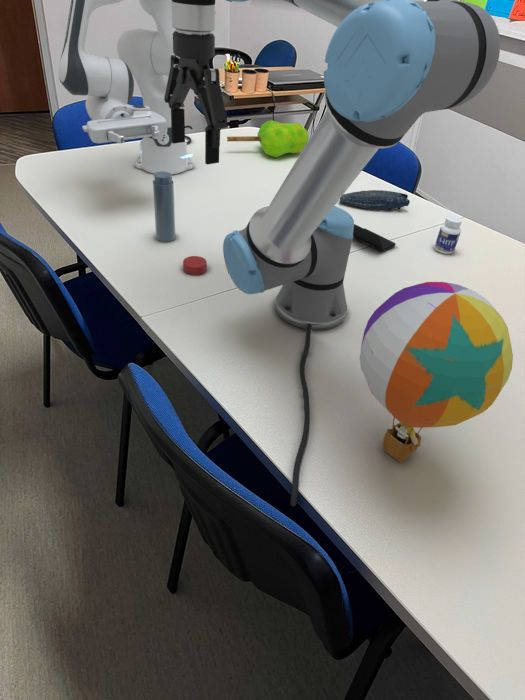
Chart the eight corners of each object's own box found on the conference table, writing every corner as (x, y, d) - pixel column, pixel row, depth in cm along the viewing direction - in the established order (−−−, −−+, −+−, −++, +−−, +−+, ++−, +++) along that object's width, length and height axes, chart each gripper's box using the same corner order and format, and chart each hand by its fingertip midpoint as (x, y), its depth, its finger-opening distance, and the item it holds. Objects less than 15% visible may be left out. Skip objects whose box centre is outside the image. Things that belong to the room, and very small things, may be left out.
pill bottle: (433, 251, 139) (442, 220, 133) (435, 243, 143) (444, 213, 137) (453, 256, 138) (464, 225, 132) (454, 247, 142) (465, 217, 136)
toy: (311, 442, 83) (343, 281, 64) (387, 392, 94) (434, 241, 75) (410, 529, 72) (484, 365, 53) (484, 461, 83) (567, 304, 64)
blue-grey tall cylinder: (167, 231, 137) (164, 169, 127) (179, 238, 134) (177, 175, 124) (152, 236, 134) (148, 173, 124) (164, 243, 131) (161, 179, 121)
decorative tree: (224, 117, 189) (303, 117, 195) (224, 146, 196) (301, 145, 201) (231, 131, 176) (316, 130, 181) (230, 162, 182) (313, 160, 188)
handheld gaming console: (399, 237, 140) (392, 215, 132) (388, 260, 139) (379, 239, 130) (362, 229, 146) (352, 207, 138) (350, 250, 145) (340, 230, 137)
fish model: (408, 214, 157) (412, 198, 153) (339, 207, 158) (341, 191, 154) (406, 206, 162) (410, 190, 159) (339, 199, 163) (341, 183, 160)
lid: (198, 277, 120) (198, 269, 119) (178, 270, 122) (178, 263, 120) (210, 267, 124) (211, 260, 123) (191, 261, 126) (191, 253, 124)
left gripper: (77, 113, 131) (97, 129, 122) (153, 105, 140) (176, 120, 131) (81, 138, 135) (100, 156, 126) (154, 129, 144) (177, 145, 136)
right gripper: (250, 43, 87) (244, 169, 100) (178, 20, 102) (181, 132, 115) (212, 44, 83) (210, 175, 96) (143, 20, 98) (150, 136, 111)
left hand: (139, 137), depth 129 cm, fingers open, 8 cm apart
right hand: (194, 152), depth 106 cm, fingers open, 13 cm apart
